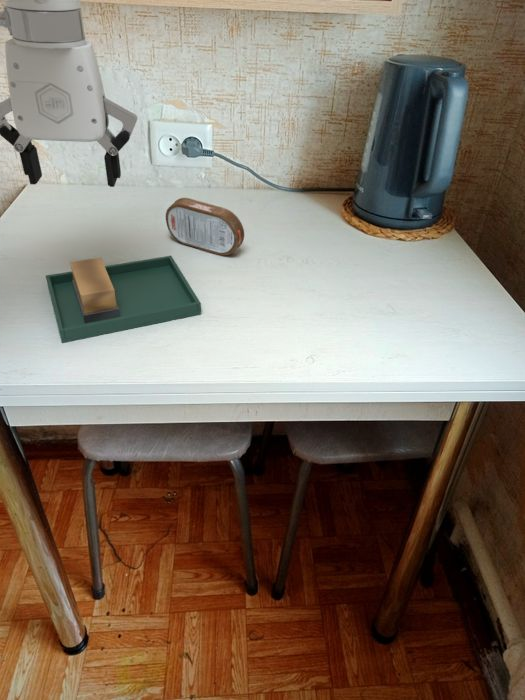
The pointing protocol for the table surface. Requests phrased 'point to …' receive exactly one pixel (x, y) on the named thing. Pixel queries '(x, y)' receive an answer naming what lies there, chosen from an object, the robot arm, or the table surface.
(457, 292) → the table surface
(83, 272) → the eraser
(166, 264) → the tray
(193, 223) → the tin
